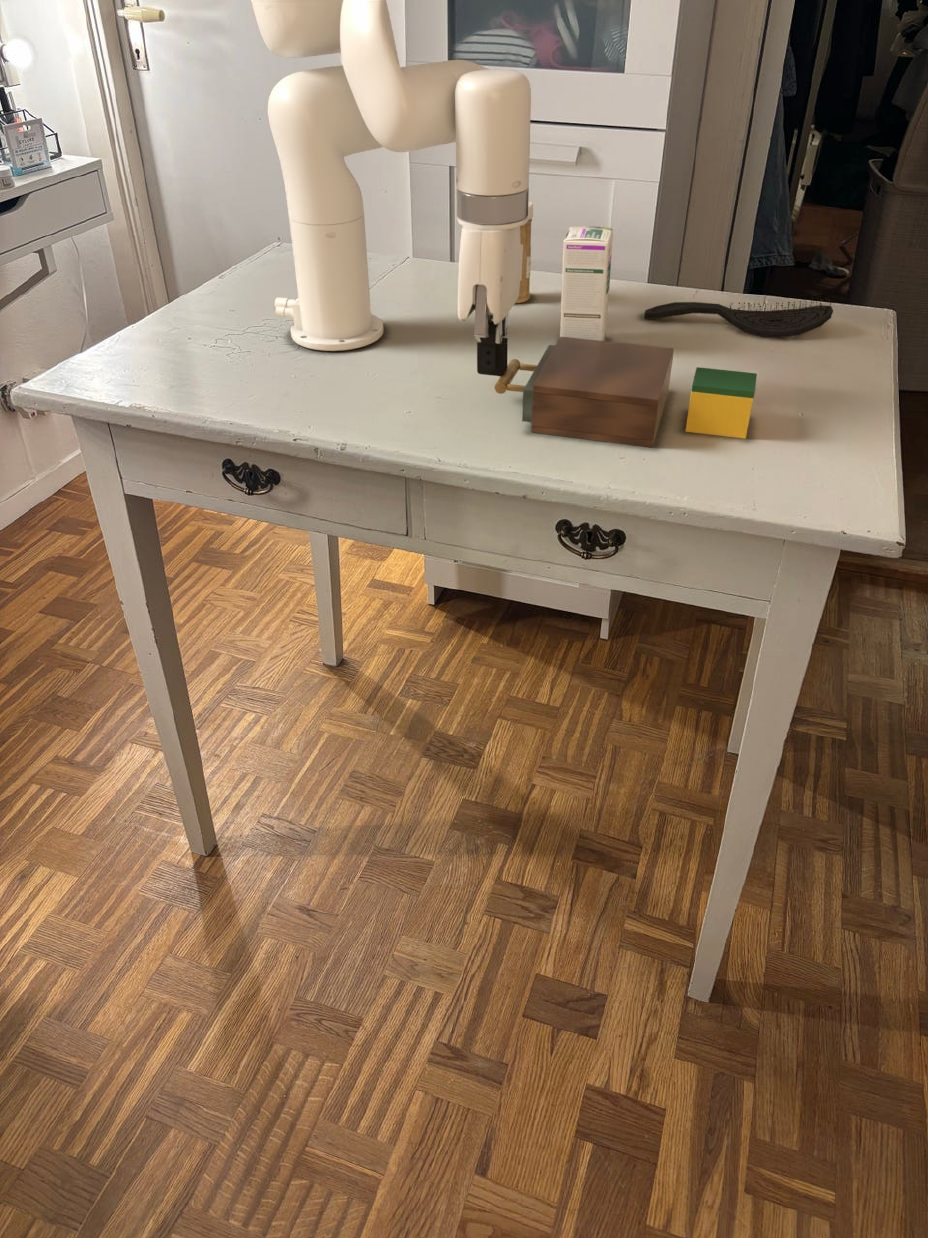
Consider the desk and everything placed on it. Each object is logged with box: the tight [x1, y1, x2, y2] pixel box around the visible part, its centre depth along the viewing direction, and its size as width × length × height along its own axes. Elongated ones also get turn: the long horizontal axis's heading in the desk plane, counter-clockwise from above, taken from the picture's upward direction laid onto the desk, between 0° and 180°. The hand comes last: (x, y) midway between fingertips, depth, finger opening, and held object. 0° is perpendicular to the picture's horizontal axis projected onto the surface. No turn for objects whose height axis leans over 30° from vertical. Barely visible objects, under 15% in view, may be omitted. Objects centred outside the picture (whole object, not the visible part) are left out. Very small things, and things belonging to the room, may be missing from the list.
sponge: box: [685, 366, 758, 440], centre depth 105 cm, size 7×5×6 cm
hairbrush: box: [643, 297, 834, 339], centre depth 130 cm, size 8×4×25 cm
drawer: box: [494, 344, 556, 423], centre depth 109 cm, size 17×13×4 cm
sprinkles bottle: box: [515, 201, 534, 304], centre depth 136 cm, size 5×5×13 cm
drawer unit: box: [530, 336, 675, 448], centre depth 108 cm, size 14×15×6 cm
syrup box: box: [559, 225, 614, 341], centre depth 121 cm, size 6×6×14 cm
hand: (492, 371), depth 110 cm, fingers closed
